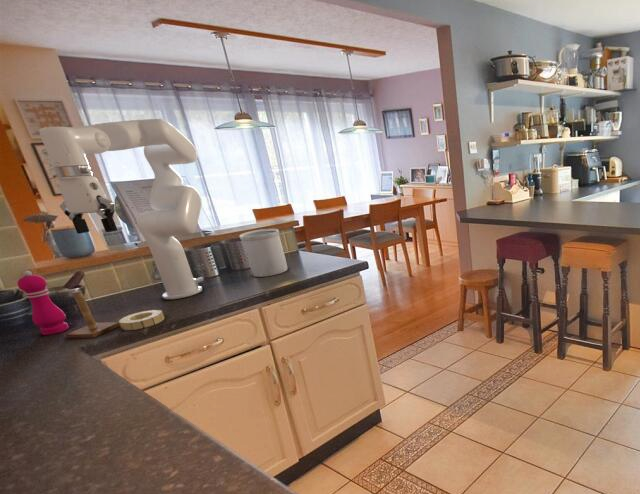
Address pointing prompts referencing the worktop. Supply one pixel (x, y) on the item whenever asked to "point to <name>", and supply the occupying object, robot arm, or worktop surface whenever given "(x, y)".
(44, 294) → the pepper mill
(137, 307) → the worktop surface
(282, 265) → the utensil holder
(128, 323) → the tape
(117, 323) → the wooden peg stand
